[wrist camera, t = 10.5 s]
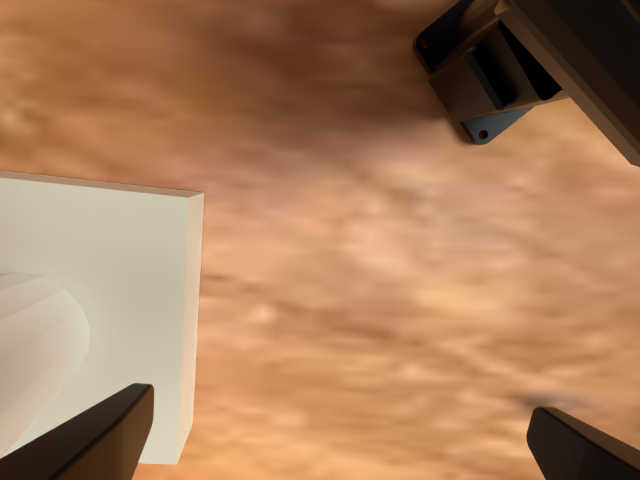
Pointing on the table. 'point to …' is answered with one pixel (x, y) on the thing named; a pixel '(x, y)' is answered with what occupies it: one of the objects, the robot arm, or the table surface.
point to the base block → (115, 290)
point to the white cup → (35, 348)
